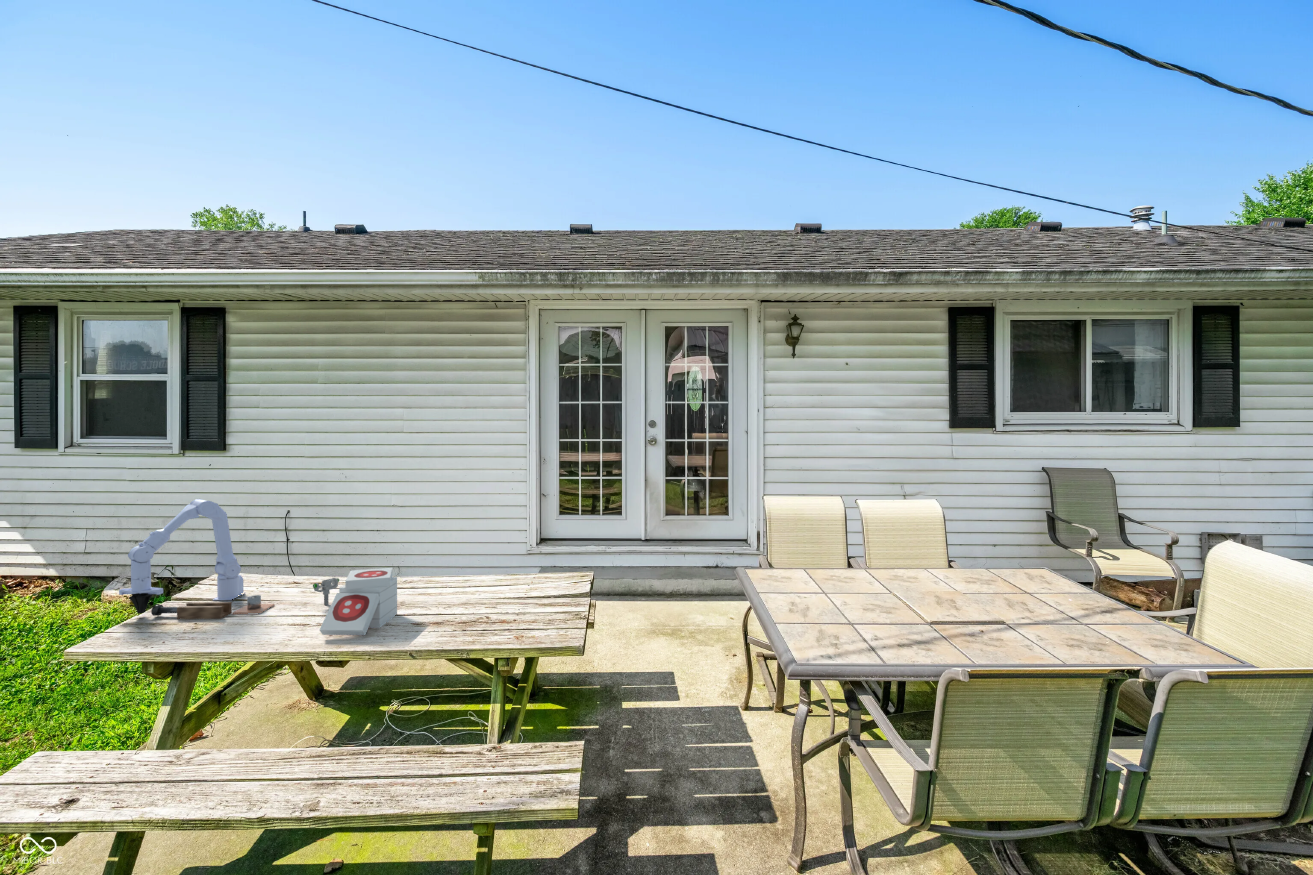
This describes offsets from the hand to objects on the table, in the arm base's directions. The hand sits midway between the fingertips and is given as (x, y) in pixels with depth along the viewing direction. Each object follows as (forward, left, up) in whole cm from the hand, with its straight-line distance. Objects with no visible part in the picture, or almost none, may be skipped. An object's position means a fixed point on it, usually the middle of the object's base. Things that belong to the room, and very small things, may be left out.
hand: (141, 612), depth 223 cm
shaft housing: (0, +23, -2) cm, 23 cm away
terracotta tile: (-7, +37, -2) cm, 38 cm away
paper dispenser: (+12, +87, -2) cm, 88 cm away
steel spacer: (-7, +37, -1) cm, 38 cm away
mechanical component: (-13, +62, -2) cm, 63 cm away
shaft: (0, +15, -2) cm, 15 cm away
